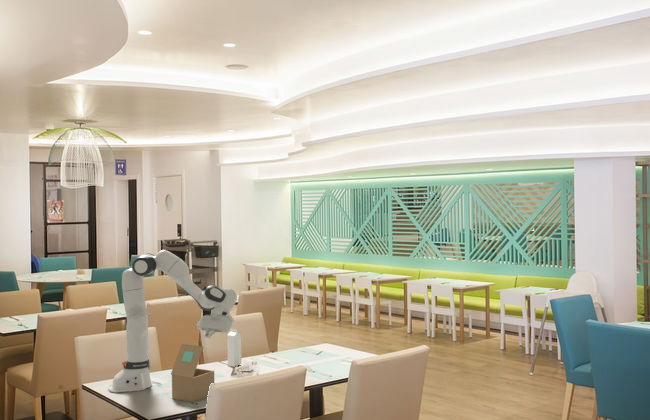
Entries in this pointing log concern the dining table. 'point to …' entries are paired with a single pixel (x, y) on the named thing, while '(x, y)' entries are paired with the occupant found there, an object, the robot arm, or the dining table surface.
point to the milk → (234, 348)
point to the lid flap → (187, 360)
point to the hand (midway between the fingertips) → (207, 337)
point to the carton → (192, 386)
